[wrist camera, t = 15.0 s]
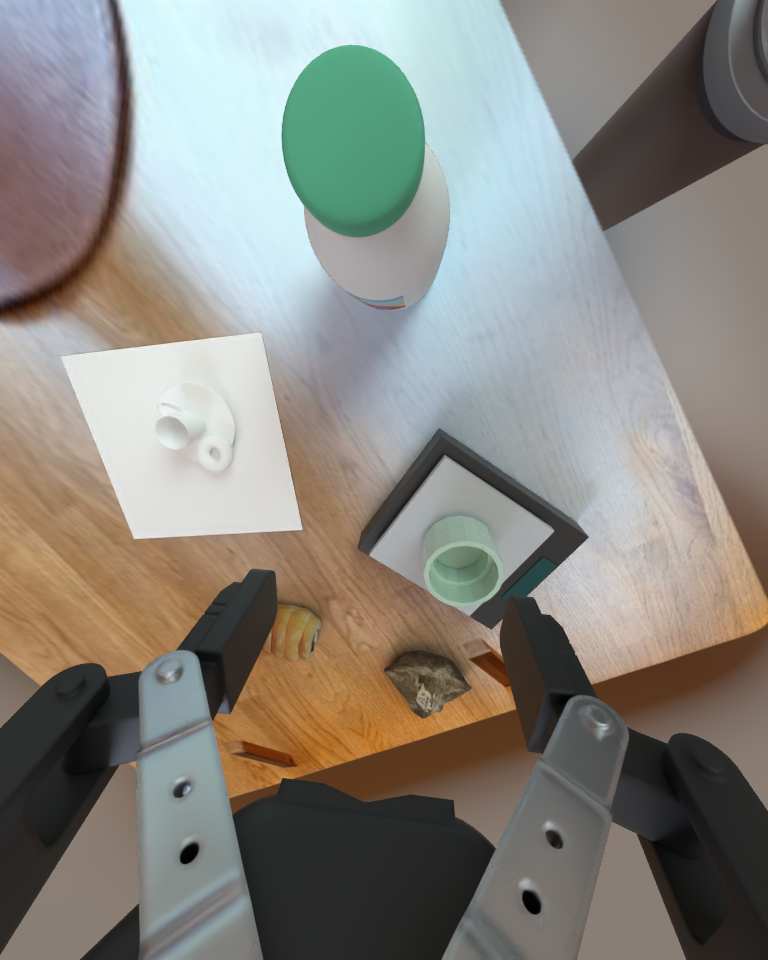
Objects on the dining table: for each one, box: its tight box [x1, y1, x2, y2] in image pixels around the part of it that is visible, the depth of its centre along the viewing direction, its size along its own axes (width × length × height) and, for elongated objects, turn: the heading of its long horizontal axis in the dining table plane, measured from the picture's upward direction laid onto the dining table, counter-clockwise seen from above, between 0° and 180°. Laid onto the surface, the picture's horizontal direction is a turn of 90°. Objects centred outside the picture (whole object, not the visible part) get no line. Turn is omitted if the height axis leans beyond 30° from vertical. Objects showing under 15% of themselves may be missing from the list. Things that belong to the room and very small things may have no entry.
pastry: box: [262, 603, 321, 662], centre depth 43 cm, size 9×7×4 cm
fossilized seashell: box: [384, 651, 471, 718], centre depth 43 cm, size 8×7×10 cm
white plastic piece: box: [154, 381, 236, 473], centre depth 35 cm, size 9×8×4 cm
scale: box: [358, 429, 589, 629], centre depth 36 cm, size 14×17×5 cm
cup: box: [422, 515, 504, 607], centre depth 32 cm, size 6×6×5 cm
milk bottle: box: [282, 45, 450, 311], centre depth 21 cm, size 8×8×20 cm
